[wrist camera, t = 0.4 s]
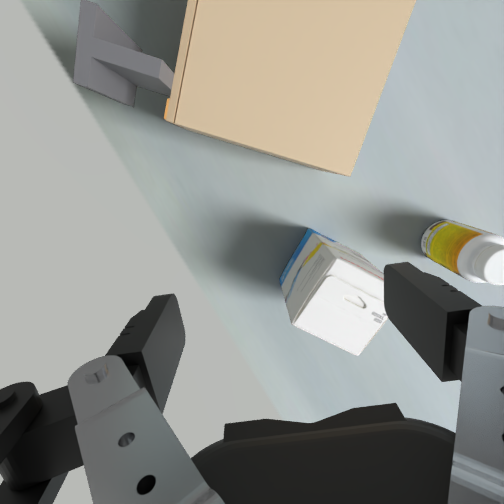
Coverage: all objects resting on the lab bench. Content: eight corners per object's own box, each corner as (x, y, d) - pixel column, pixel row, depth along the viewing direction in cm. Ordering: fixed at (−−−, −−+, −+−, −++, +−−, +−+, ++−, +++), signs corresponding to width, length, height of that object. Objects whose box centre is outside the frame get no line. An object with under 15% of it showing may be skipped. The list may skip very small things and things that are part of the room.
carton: (239, -82, 29) (236, -197, 20) (389, -24, 31) (454, -104, 21) (193, 132, 35) (174, 123, 25) (322, 171, 36) (350, 176, 27)
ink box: (276, 280, 41) (288, 326, 30) (308, 226, 39) (334, 254, 28) (330, 305, 42) (360, 359, 31) (363, 255, 40) (409, 293, 29)
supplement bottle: (414, 258, 40) (468, 291, 31) (424, 217, 39) (484, 239, 29) (454, 260, 41) (521, 294, 31) (466, 220, 39) (540, 242, 29)
